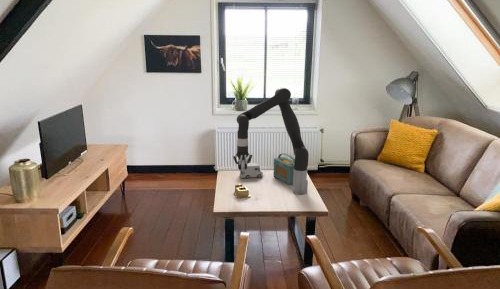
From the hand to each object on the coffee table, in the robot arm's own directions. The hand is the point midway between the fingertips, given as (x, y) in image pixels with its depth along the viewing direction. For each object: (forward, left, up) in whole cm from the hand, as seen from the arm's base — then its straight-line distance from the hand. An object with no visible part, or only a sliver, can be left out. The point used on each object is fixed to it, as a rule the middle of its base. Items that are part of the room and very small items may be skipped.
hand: (242, 169), depth 248 cm
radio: (-43, -22, -19) cm, 52 cm away
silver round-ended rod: (0, 0, -3) cm, 3 cm away
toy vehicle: (-20, -37, -19) cm, 46 cm away
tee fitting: (0, -2, -19) cm, 19 cm away
